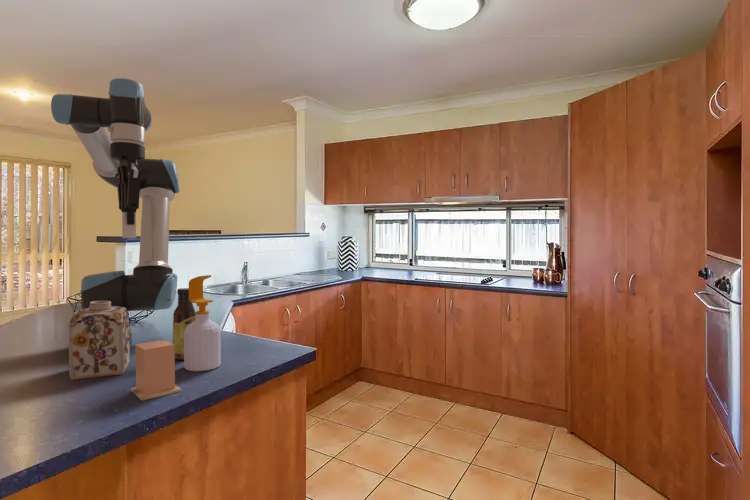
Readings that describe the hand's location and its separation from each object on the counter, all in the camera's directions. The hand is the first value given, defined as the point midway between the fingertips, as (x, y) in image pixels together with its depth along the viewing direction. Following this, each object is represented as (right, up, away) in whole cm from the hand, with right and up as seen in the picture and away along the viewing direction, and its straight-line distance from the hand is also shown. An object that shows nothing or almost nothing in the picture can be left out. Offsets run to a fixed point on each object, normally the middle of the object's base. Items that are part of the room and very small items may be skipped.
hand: (129, 237), depth 107 cm
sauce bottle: (+8, -34, +15) cm, 38 cm away
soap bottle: (+16, -35, +6) cm, 39 cm away
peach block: (+13, -34, -11) cm, 38 cm away
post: (+13, -35, -11) cm, 39 cm away
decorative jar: (-9, -35, +3) cm, 36 cm away
